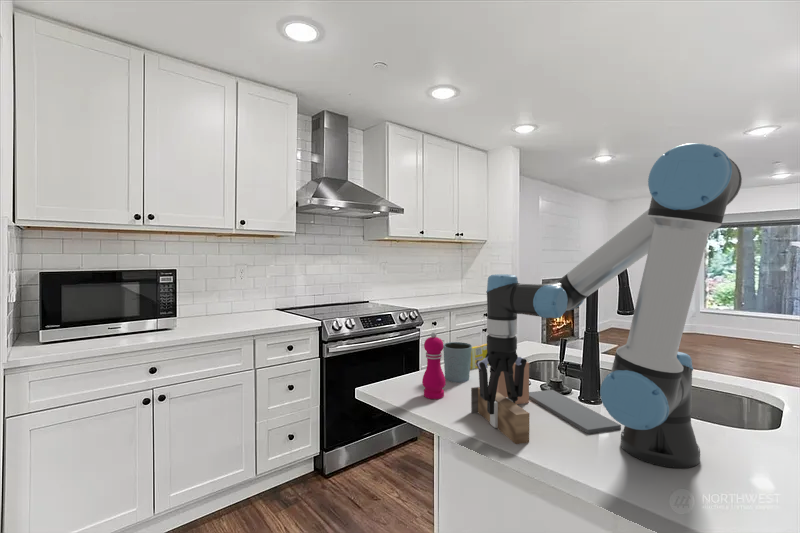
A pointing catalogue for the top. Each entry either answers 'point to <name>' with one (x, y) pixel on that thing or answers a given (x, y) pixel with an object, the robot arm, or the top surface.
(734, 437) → the top surface
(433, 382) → the pepper mill
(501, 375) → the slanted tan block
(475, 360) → the candy box
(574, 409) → the charcoal mat
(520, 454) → the top surface
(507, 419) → the wooden block
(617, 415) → the robot arm
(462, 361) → the grey-blue cup
